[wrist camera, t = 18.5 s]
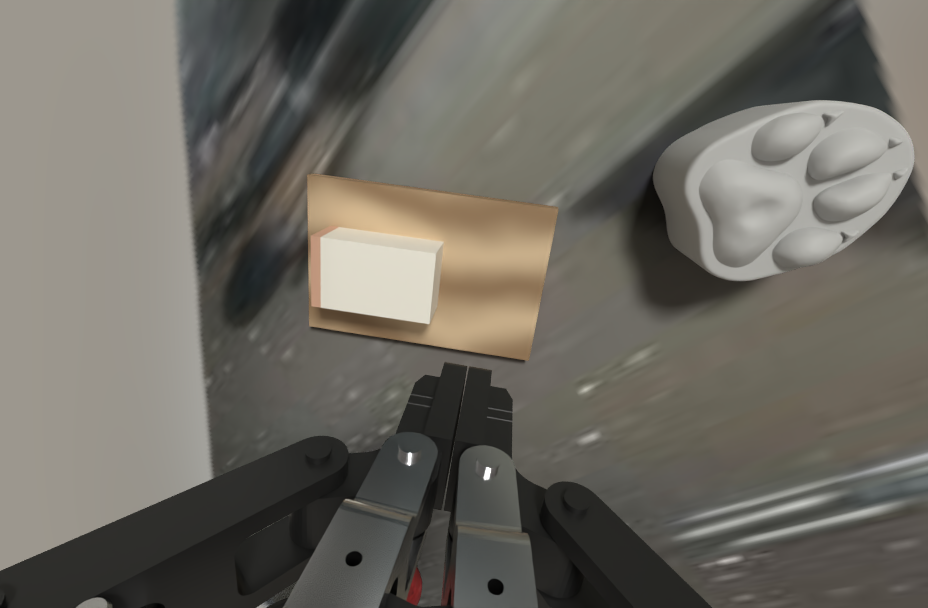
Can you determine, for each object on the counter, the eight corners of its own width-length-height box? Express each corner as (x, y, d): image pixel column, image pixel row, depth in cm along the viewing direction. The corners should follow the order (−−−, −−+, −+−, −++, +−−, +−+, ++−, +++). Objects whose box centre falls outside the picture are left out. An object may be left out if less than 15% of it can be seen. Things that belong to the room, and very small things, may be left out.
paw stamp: (643, 149, 35) (681, 154, 27) (827, 74, 32) (931, 55, 24) (676, 268, 38) (719, 305, 30) (846, 210, 35) (945, 234, 27)
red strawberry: (404, 534, 52) (385, 600, 45) (437, 563, 54) (424, 633, 46) (370, 554, 54) (347, 621, 47) (403, 582, 55) (385, 652, 48)
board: (313, 173, 38) (307, 174, 37) (557, 207, 37) (558, 209, 36) (314, 321, 43) (309, 326, 42) (528, 354, 42) (528, 360, 41)
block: (443, 241, 38) (330, 225, 39) (436, 253, 34) (310, 235, 35) (437, 306, 40) (330, 290, 41) (429, 324, 36) (311, 306, 37)
